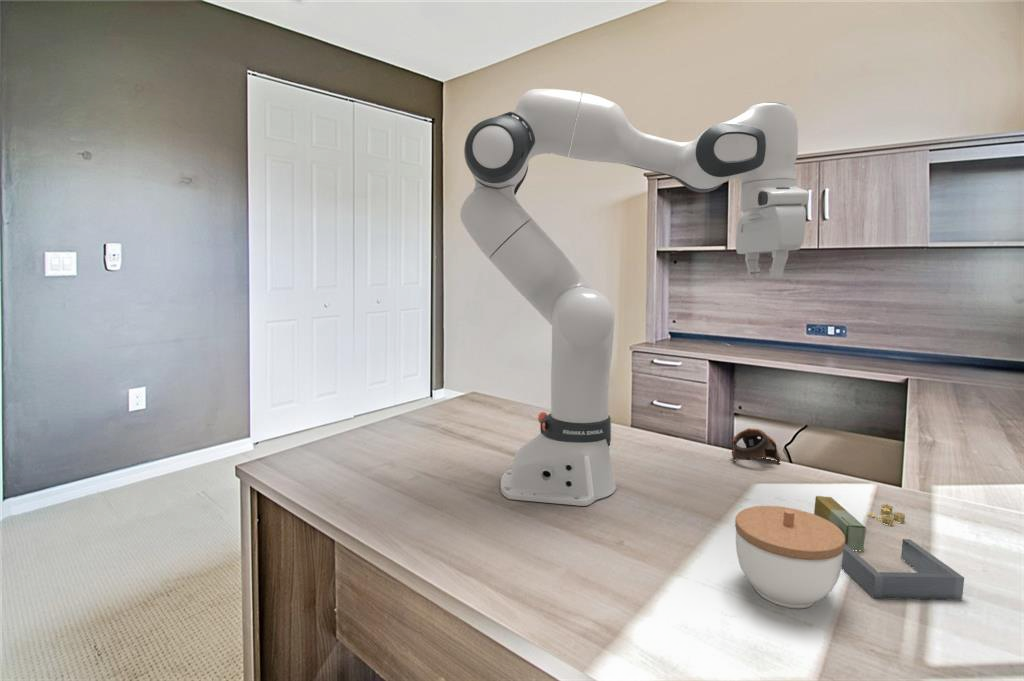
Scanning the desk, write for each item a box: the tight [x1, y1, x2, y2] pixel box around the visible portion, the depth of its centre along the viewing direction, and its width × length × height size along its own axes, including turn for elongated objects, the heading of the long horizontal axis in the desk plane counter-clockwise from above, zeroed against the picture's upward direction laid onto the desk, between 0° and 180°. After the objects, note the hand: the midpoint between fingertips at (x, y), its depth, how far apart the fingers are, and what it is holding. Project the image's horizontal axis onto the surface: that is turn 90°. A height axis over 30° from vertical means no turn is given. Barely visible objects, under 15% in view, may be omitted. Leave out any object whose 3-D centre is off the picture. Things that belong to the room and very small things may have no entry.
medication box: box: [813, 495, 867, 552], centre depth 87 cm, size 12×3×4 cm, turn 173°
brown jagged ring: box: [731, 428, 781, 465], centre depth 121 cm, size 12×10×8 cm
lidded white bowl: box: [734, 505, 845, 609], centre depth 70 cm, size 13×13×11 cm
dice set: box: [867, 503, 906, 525], centre depth 92 cm, size 5×5×2 cm
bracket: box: [841, 538, 965, 600], centre depth 74 cm, size 11×10×3 cm
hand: (764, 278), depth 99 cm, fingers open, 8 cm apart
